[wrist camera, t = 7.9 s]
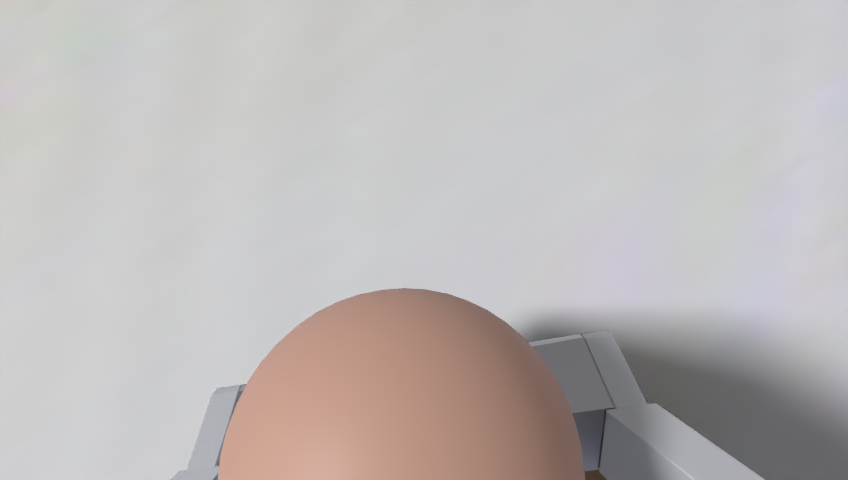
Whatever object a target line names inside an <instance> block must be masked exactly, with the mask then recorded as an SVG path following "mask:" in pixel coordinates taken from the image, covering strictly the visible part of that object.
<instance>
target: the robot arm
mask: <svg viewBox="0 0 848 480" xmlns="http://www.w3.org/2000/svg"><path fill="white" fill-rule="evenodd" d="M528 343H529V344H530V345H531V346H532V347H533V348H534V350H535V351H536V352H537V353H538V354H539V355H540V356H541V357H542V359H543V360H544V362H545V363H546V364H547V366H548V367H549V369H550V370H551V372H552V373H553V375H554V376H555V378H556V379H557V381H558V383H559V385H560V387H561V389H562V391H563V393H564V395H565V397H566V398H567V401H568V404H569V406H570V409H571V412H572V414H573V417H574V420H575V422H576V427H577V431H578V435H579V439H580V443H581V448H582V454H583V463H584V471H591V470H599V472H600V473H601V474H602V475H603V476H604V477H605V478H606V479H607V480H765V479H763V478H762V477H761V476H759V475H758V474H756V473H755V472H754V471H752V470H751V469H749V468H748V467H746V466H745V465H744V464H742V463H741V462H739V461H738V460H736V459H735V458H734V457H732V456H731V455H729V454H728V453H726V452H725V451H724V450H722V449H721V448H719V447H718V446H716V445H715V444H714V443H712V442H711V441H709V440H708V439H706V438H705V437H704V436H702V435H701V434H699V433H698V432H696V431H695V430H694V429H692V428H691V427H689V426H688V425H687V424H685V423H684V422H682V421H681V420H679V419H678V418H677V417H675V416H674V415H672V414H671V413H669V412H668V411H667V410H665V409H664V408H662V407H661V406H659V405H658V404H657V403H652V404H647V402H646V400H645V398H644V396H643V394H642V392H641V390H640V388H639V386H638V384H637V382H636V380H635V378H634V376H633V374H632V372H631V370H630V368H629V366H628V364H627V362H626V360H625V358H624V356H623V354H622V352H621V350H620V348H619V346H618V344H617V342H616V340H615V338H614V336H613V334H612V333H611V332H609V331H608V330H606V331H599V332H593V333H586V334H581V335H580V334H576V335H570V336H564V337H558V338H552V339H545V340H539V341H533V342H528ZM245 386H246V384H243V385H237V386H229V387H222V388H217V389H216V391H215V392H214V393H213V395H212V396H211V398H210V401H209V404H208V407H207V410H206V413H205V416H204V419H203V422H202V425H201V428H200V431H199V434H198V437H197V440H196V444H195V447H194V450H193V453H192V456H191V459H190V462H189V465H188V468H187V470H185V471H179V472H178V473H177V474H176V475H175V476H174V477H173V478H172V479H171V480H218V472H219V463H220V455H221V451H222V447H223V443H224V438H225V434H226V431H227V428H228V426H229V423H230V420H231V417H232V415H233V412H234V409H235V407H236V404H237V402H238V400H239V398H240V396H241V394H242V392H243V390H244V388H245Z"/></svg>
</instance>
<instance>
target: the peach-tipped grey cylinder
mask: <svg viewBox="0 0 848 480" xmlns="http://www.w3.org/2000/svg"><path fill="white" fill-rule="evenodd" d="M218 480H585V472H584V463H583V454H582V448H581V443H580V439H579V435H578V431H577V427H576V422H575V420H574V417H573V414H572V412H571V409H570V406H569V404H568V401H567V398H566V397H565V395H564V393H563V391H562V389H561V387H560V385H559V383H558V381H557V379H556V378H555V376H554V375H553V373H552V372H551V370H550V369H549V367H548V366H547V364H546V363H545V362H544V360H543V359H542V357H541V356H540V355H539V354H538V353H537V352H536V351H535V350H534V348H533V347H532V346H531V345H530V344H529V343H528V342H527V341H526V340H525V339H524V337H522V336H521V335H520V334H519V333H518V332H517V331H515V330H514V329H513V328H512V327H511V326H510V325H508V324H507V323H506V322H505V321H503V320H501V319H500V318H498V317H497V316H495V315H494V314H492V313H491V312H489V311H488V310H486V309H484V308H482V307H480V306H478V305H476V304H473V303H471V302H469V301H467V300H464V299H461V298H458V297H455V296H452V295H449V294H446V293H440V292H435V291H430V290H423V289H406V288H402V289H389V290H379V291H375V292H370V293H365V294H360V295H356V296H354V297H351V298H348V299H345V300H342V301H339V302H337V303H335V304H333V305H331V306H329V307H327V308H325V309H323V310H321V311H319V312H317V313H315V314H314V315H312V316H311V317H309V318H308V319H306V320H305V321H304V322H302V323H301V324H299V325H298V326H297V327H296V328H294V329H293V330H292V331H291V332H290V333H289V334H288V335H286V336H285V337H284V338H283V339H282V340H281V341H280V342H279V343H278V344H277V345H276V346H275V347H274V348H273V349H272V350H271V352H270V353H269V354H268V355H267V356H266V357H265V358H264V360H263V361H262V362H261V363H260V365H259V366H258V368H257V369H256V371H255V372H254V373H253V375H252V376H251V378H250V379H249V381H248V383H247V384H246V386H245V388H244V390H243V392H242V394H241V396H240V398H239V400H238V402H237V404H236V407H235V409H234V412H233V415H232V417H231V420H230V423H229V426H228V428H227V431H226V434H225V438H224V443H223V447H222V451H221V455H220V463H219V472H218Z"/></svg>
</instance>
